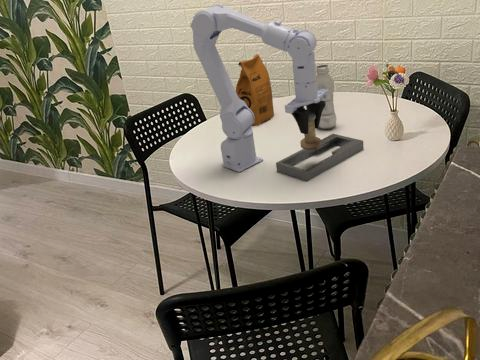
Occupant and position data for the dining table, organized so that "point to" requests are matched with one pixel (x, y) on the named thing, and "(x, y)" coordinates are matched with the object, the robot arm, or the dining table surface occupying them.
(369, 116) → the dining table surface
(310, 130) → the peg
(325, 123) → the plastic bottle
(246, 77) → the coffee package
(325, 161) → the keyhole plate
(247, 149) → the robot arm
